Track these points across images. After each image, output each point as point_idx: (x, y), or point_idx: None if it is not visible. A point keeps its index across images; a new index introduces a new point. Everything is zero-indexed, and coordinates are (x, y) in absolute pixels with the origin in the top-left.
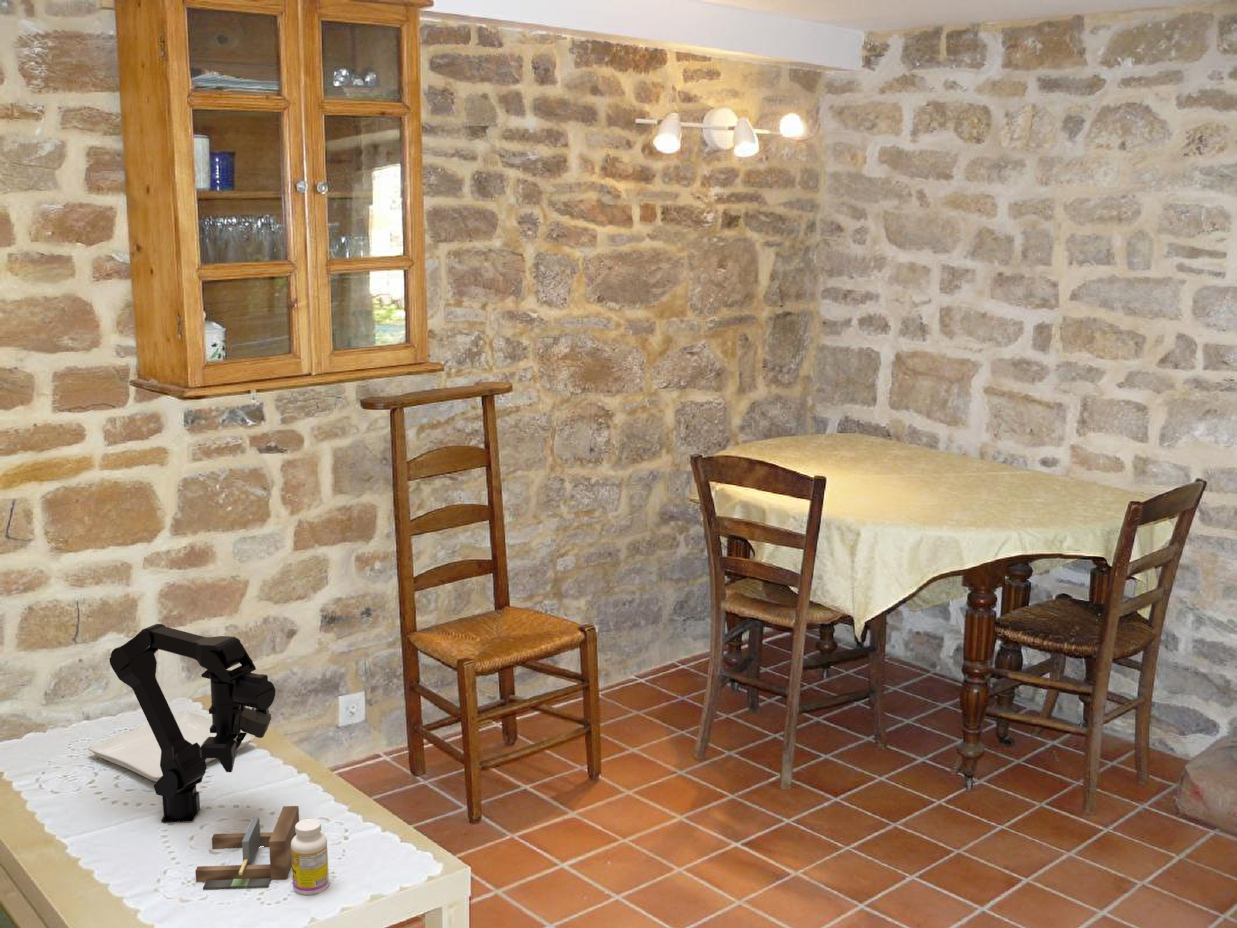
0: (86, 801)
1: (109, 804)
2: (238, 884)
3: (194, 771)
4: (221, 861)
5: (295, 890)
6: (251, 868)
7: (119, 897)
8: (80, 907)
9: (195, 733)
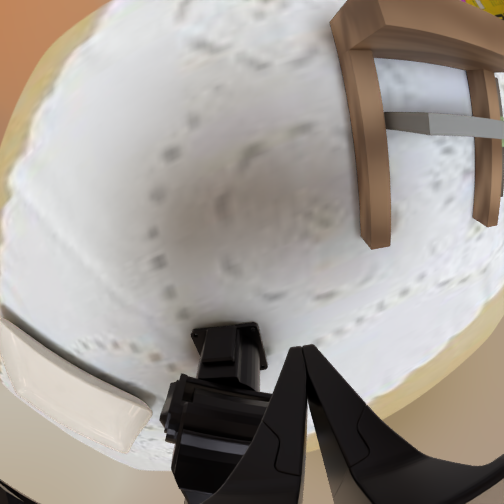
0: None
1: None
2: None
3: (242, 423)
4: (428, 192)
5: None
6: (497, 111)
7: (484, 307)
8: (485, 334)
9: (29, 377)
